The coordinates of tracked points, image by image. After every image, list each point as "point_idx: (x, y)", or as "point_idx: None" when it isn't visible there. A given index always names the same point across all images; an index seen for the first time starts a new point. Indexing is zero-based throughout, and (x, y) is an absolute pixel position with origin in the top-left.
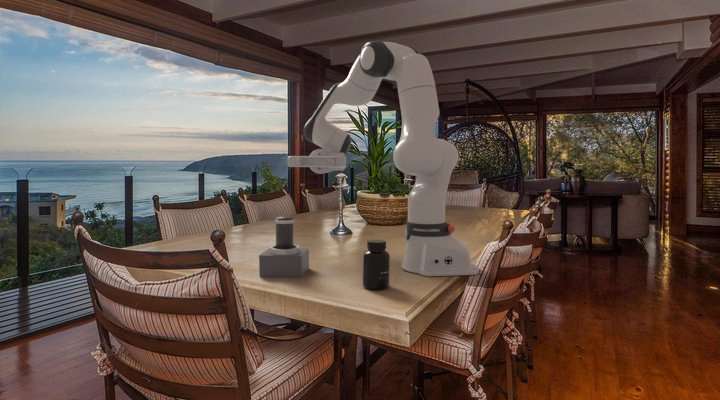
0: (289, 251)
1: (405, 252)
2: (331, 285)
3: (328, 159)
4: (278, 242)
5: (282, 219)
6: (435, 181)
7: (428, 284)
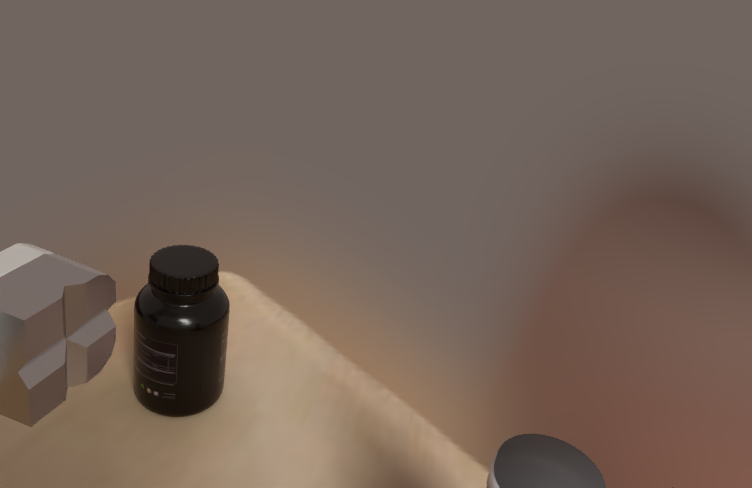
0: None
1: None
2: (309, 448)
3: (59, 255)
4: None
5: (555, 442)
6: None
7: None
